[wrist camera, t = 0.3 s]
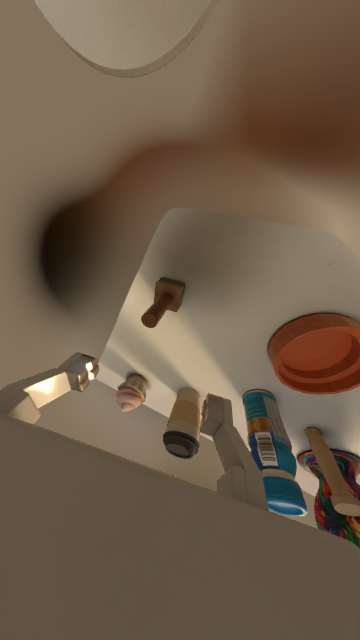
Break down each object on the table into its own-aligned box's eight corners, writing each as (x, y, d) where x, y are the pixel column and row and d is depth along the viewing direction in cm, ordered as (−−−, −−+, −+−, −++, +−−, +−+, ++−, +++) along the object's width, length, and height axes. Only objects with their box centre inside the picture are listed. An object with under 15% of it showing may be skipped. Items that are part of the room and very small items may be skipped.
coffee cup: (186, 406, 52) (175, 463, 39) (169, 389, 49) (152, 445, 36) (209, 401, 48) (206, 462, 35) (192, 382, 45) (182, 441, 32)
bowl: (293, 302, 28) (306, 314, 24) (387, 326, 27) (419, 343, 23) (254, 362, 37) (259, 379, 33) (325, 383, 36) (339, 403, 31)
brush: (161, 277, 31) (133, 300, 21) (185, 283, 31) (168, 310, 20) (159, 299, 34) (132, 330, 23) (180, 305, 34) (163, 339, 23)
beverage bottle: (281, 393, 40) (327, 513, 23) (267, 411, 44) (298, 522, 27) (247, 385, 41) (268, 493, 24) (237, 403, 45) (249, 505, 28)
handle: (321, 423, 42) (365, 506, 29) (322, 436, 45) (364, 517, 32) (300, 423, 44) (333, 501, 31) (302, 436, 46) (334, 513, 34)
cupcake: (129, 366, 48) (110, 395, 39) (156, 380, 48) (142, 412, 40) (121, 381, 52) (103, 410, 44) (145, 394, 53) (132, 425, 45)
